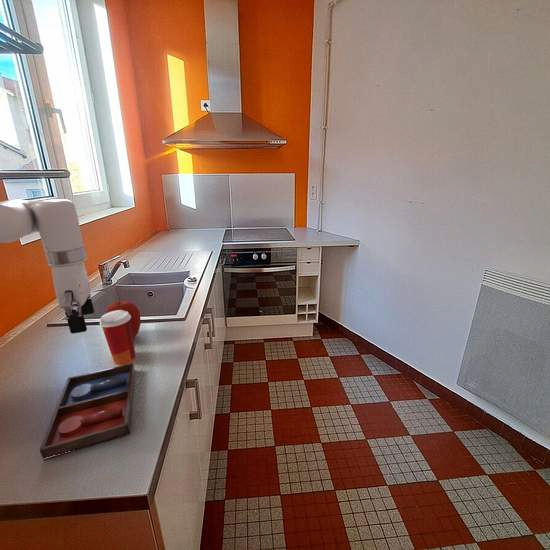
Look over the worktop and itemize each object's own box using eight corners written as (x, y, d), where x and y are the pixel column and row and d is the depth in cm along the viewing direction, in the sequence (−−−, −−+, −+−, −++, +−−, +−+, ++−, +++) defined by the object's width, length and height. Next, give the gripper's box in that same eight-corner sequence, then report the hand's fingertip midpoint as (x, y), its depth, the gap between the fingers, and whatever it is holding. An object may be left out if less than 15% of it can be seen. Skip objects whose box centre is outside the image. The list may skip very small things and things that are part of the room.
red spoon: (124, 407, 68) (122, 400, 67) (122, 421, 64) (120, 414, 63) (62, 423, 64) (60, 416, 63) (57, 440, 60) (54, 432, 59)
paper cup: (127, 348, 91) (117, 307, 86) (145, 354, 88) (136, 312, 83) (103, 363, 85) (91, 319, 80) (122, 370, 81) (110, 325, 76)
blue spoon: (127, 377, 77) (126, 371, 77) (126, 389, 73) (124, 382, 73) (74, 390, 73) (72, 384, 73) (70, 403, 69) (67, 396, 69)
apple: (151, 334, 99) (143, 295, 94) (124, 350, 90) (115, 308, 86) (129, 327, 103) (121, 290, 98) (102, 342, 95) (92, 302, 90)
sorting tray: (43, 460, 57) (39, 450, 56) (70, 386, 76) (67, 377, 75) (130, 434, 62) (127, 424, 61) (135, 371, 81) (133, 362, 80)
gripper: (58, 248, 75) (74, 310, 80) (33, 269, 59) (55, 343, 65) (92, 245, 77) (105, 305, 83) (77, 264, 62) (94, 337, 68)
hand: (83, 322), depth 74 cm, fingers open, 9 cm apart
